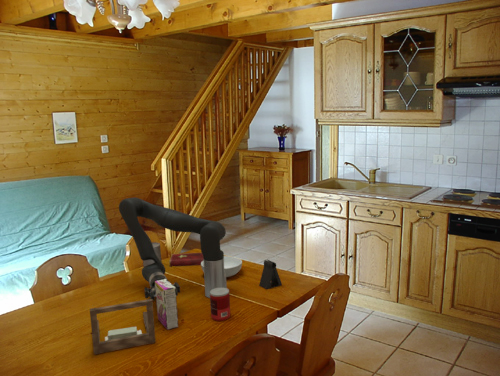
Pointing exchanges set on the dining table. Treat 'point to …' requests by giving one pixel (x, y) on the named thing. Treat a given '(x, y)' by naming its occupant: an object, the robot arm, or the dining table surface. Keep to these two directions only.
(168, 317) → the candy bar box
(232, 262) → the serving bowl
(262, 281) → the phone stand
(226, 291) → the canned food
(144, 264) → the pillar candle
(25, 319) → the dining table surface
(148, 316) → the frame
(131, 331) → the upper offcut
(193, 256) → the hardcover book
